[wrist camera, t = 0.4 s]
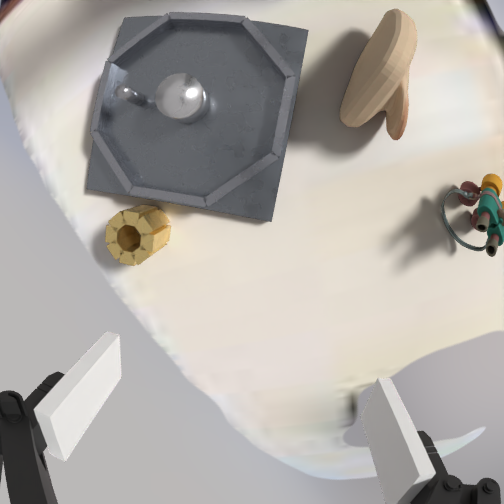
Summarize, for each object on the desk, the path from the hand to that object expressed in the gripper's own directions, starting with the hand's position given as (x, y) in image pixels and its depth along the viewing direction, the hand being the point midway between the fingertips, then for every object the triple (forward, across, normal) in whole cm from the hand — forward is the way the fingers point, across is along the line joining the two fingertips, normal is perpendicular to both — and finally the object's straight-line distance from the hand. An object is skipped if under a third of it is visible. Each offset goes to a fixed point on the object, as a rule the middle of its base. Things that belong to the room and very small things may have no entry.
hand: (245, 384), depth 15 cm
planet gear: (+25, -15, +1) cm, 29 cm away
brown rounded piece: (+26, +11, +24) cm, 37 cm away
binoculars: (+26, +26, +11) cm, 38 cm away
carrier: (+25, -11, +17) cm, 32 cm away
